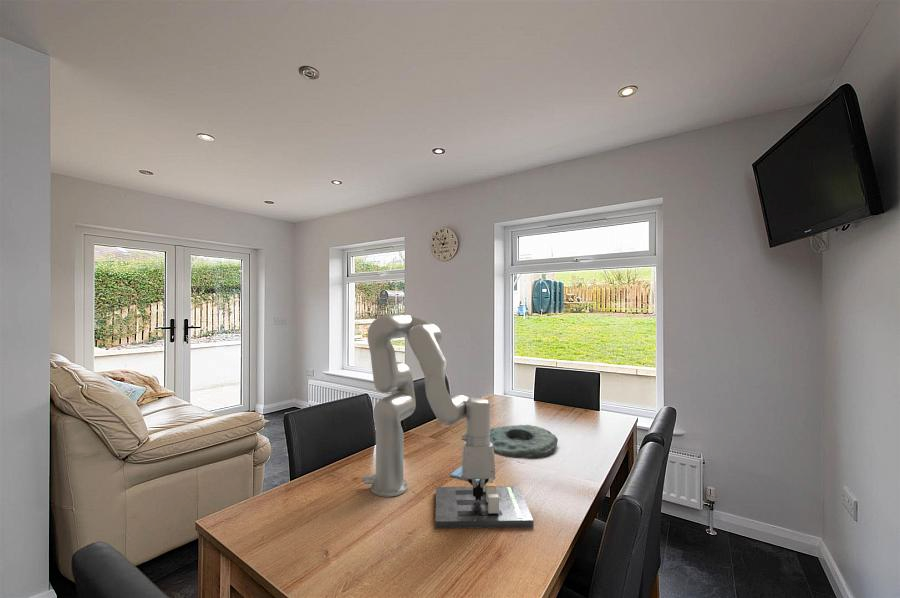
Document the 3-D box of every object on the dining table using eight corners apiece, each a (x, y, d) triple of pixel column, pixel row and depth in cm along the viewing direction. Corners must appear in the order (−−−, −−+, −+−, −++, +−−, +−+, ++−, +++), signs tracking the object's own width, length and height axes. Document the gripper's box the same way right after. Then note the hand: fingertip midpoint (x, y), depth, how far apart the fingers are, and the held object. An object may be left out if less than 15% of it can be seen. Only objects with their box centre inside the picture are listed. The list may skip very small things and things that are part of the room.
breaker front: (488, 513, 114) (488, 497, 114) (487, 509, 116) (487, 494, 116) (498, 513, 114) (498, 497, 115) (497, 509, 116) (497, 494, 117)
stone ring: (551, 433, 195) (551, 423, 195) (564, 460, 161) (564, 448, 161) (482, 430, 198) (482, 420, 198) (480, 456, 164) (480, 444, 164)
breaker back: (483, 492, 127) (483, 477, 127) (482, 489, 129) (482, 475, 129) (492, 492, 127) (492, 477, 128) (491, 489, 129) (491, 475, 130)
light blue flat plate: (480, 484, 139) (480, 481, 139) (450, 477, 145) (450, 473, 145) (494, 470, 151) (494, 467, 151) (466, 464, 157) (466, 461, 157)
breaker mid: (486, 502, 121) (486, 486, 121) (485, 498, 123) (485, 483, 123) (496, 502, 121) (496, 486, 121) (495, 498, 123) (495, 483, 123)
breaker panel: (435, 528, 111) (435, 521, 111) (435, 492, 132) (435, 486, 132) (533, 527, 112) (533, 519, 112) (518, 492, 133) (518, 485, 133)
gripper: (454, 443, 118) (454, 504, 118) (503, 443, 118) (503, 504, 118) (453, 435, 126) (453, 493, 125) (500, 435, 126) (499, 492, 126)
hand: (477, 498), depth 122 cm, fingers closed
